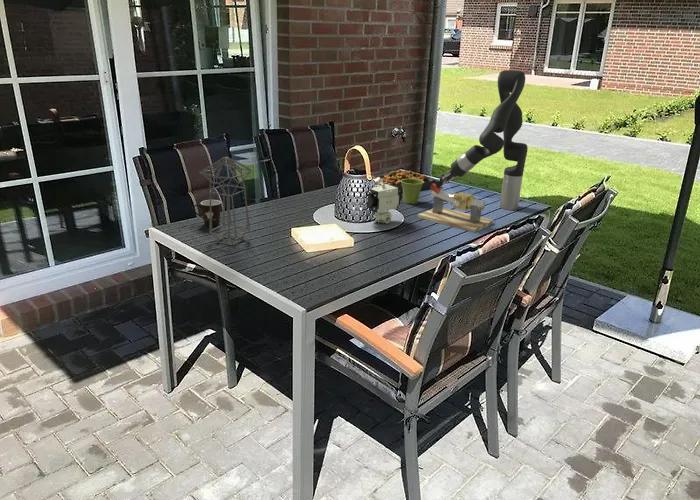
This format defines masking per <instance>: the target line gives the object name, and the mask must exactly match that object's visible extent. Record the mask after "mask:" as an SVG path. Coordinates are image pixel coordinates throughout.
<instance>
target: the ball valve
mask: <svg viewBox="0 0 700 500" xmlns="http://www.w3.org/2000/svg"><path fill="white" fill-rule="evenodd" d="M370 191H371V193H369V194H368V202H367V208H371V211H370V212H374V213H375V214H374V213H373V214H374V215H373V214H372V215H373V216H375V218H376V219H375V220H374V221H373V222H372V223H374V222H375V224H379V222H380V223H381V224H384V223H386V224H390V223H391V221H392V213H391V212H390V211H391V210H395V209H399V206H401V201H402V200H403V192H402V193H401V191H400V188H398V187H395V186H393V185H390V184H389V185H385V184H382V186H377V187H374V188H372V189H370ZM376 222H378V223H376Z"/></svg>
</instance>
